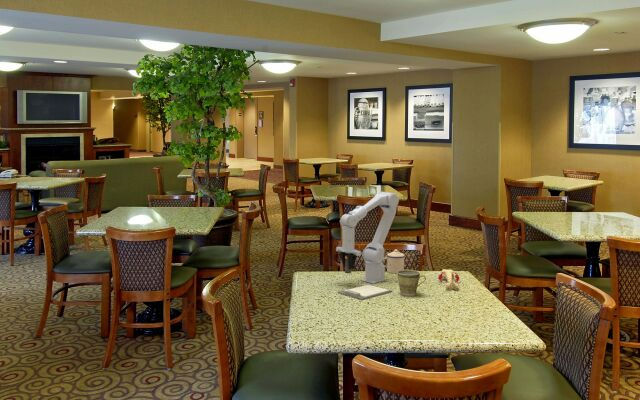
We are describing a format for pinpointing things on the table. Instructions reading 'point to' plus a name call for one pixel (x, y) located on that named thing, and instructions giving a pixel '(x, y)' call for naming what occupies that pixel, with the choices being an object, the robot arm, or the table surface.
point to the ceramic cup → (409, 281)
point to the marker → (347, 266)
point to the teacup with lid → (394, 261)
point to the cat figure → (449, 279)
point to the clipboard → (365, 292)
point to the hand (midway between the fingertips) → (348, 268)
